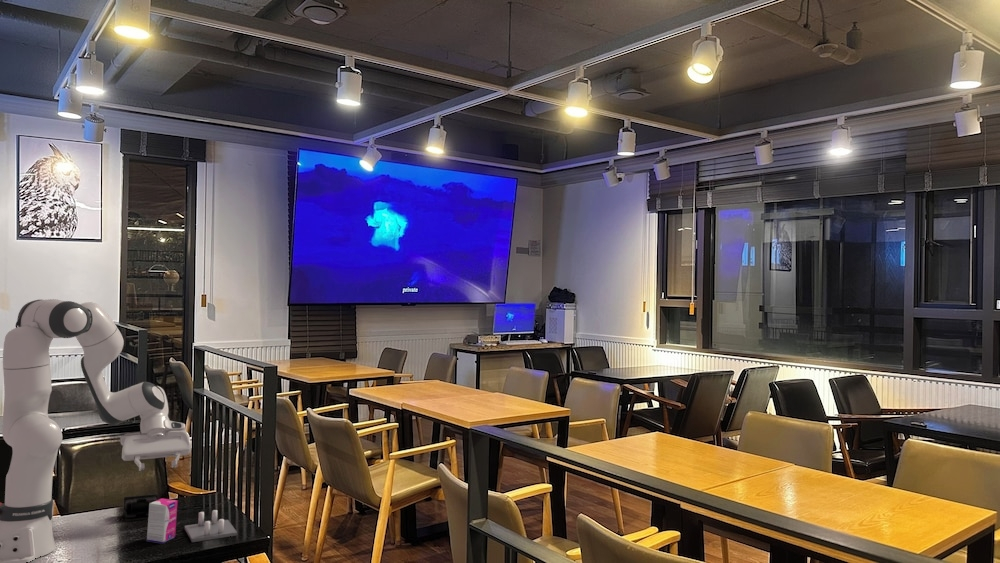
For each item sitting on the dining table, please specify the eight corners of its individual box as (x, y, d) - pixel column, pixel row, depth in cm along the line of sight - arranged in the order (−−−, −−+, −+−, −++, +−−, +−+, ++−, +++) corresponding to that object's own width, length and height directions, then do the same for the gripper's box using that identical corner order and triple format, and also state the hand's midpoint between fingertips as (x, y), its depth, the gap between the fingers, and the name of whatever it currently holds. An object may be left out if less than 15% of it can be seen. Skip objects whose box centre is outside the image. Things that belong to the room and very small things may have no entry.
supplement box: (163, 544, 210) (165, 505, 210) (146, 541, 211) (147, 503, 211) (176, 537, 216) (178, 499, 216) (159, 535, 217) (160, 497, 217)
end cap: (156, 511, 238) (157, 491, 238) (157, 518, 232) (158, 497, 232) (123, 515, 233) (123, 494, 233) (123, 522, 227) (124, 500, 227)
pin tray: (192, 542, 212) (192, 525, 212) (184, 528, 223) (185, 513, 223) (237, 535, 219) (237, 519, 219) (227, 522, 230) (228, 507, 230)
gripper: (120, 428, 225) (122, 466, 217) (189, 423, 236) (193, 459, 228) (119, 439, 229) (120, 477, 221) (187, 433, 240) (191, 469, 232)
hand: (158, 468), depth 225 cm, fingers open, 8 cm apart
